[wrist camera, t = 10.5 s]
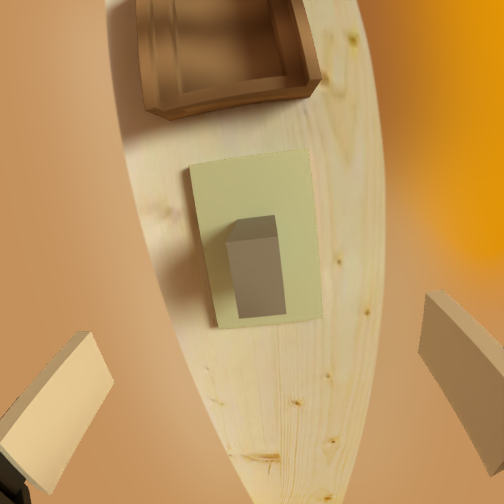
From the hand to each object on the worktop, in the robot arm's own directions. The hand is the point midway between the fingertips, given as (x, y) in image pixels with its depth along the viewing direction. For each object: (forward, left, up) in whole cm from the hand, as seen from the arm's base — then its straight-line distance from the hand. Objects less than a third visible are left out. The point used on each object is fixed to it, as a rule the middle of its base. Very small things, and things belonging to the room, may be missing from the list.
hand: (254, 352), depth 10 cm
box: (-17, -9, -16) cm, 26 cm away
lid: (0, 0, -17) cm, 17 cm away
